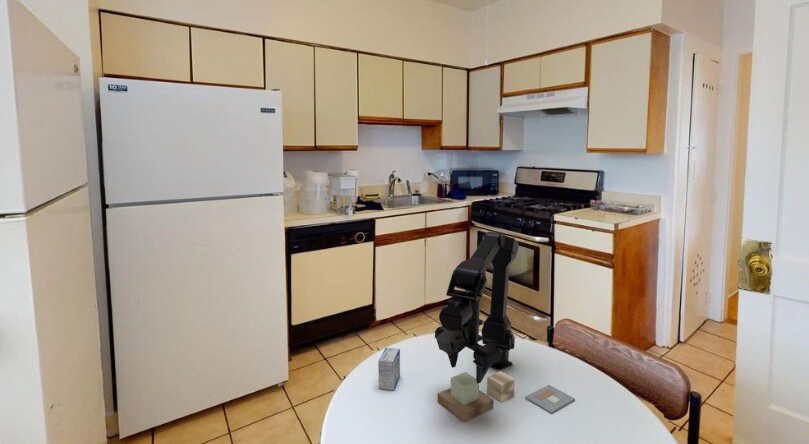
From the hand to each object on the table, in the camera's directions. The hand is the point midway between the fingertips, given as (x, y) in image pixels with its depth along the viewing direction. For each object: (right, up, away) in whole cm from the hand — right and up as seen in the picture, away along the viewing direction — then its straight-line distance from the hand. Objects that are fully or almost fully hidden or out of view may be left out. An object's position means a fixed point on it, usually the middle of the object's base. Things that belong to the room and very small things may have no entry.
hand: (465, 374), depth 106 cm
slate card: (+23, -8, +4) cm, 24 cm away
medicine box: (-20, -7, +12) cm, 24 cm away
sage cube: (0, -6, +1) cm, 6 cm away
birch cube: (+10, -8, +6) cm, 14 cm away
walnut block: (0, -9, +2) cm, 9 cm away
